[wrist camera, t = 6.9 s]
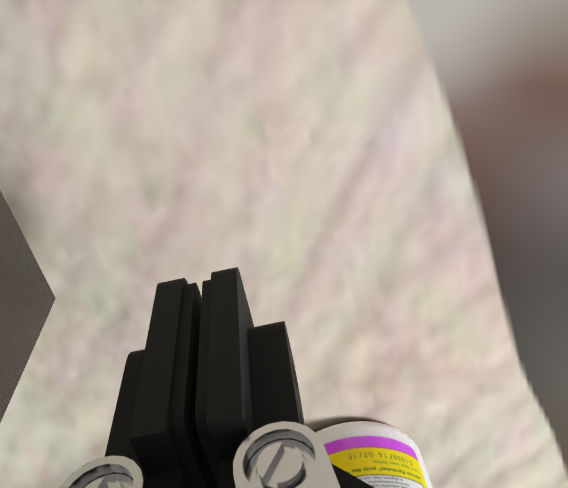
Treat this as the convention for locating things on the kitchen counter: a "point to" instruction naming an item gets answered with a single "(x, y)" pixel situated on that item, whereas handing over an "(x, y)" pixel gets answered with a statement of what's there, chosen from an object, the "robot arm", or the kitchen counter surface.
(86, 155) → the kitchen counter surface
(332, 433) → the supplement bottle
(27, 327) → the shaft
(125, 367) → the robot arm
